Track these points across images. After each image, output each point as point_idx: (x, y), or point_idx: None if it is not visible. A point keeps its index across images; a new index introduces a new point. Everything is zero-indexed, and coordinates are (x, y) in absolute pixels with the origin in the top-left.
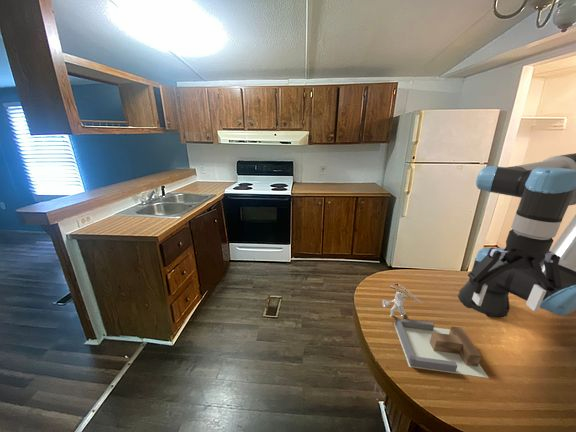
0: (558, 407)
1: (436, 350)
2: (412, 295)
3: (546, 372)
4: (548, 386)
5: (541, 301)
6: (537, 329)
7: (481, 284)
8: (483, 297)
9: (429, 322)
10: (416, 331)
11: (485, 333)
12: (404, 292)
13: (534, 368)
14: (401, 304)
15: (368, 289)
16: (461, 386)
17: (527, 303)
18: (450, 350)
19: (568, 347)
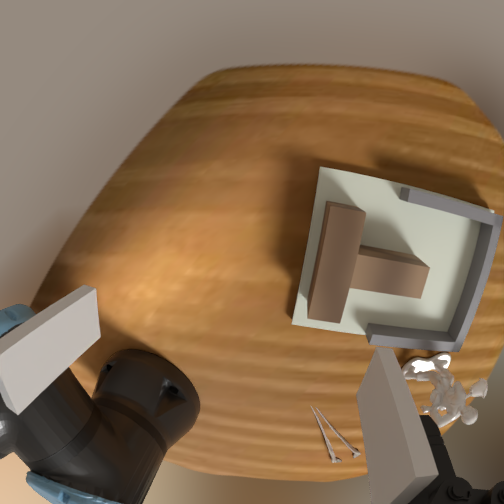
0: (195, 107)
1: (409, 254)
2: (323, 432)
3: (143, 194)
4: (170, 156)
5: (39, 314)
6: None
7: (456, 479)
8: (392, 391)
9: (380, 343)
10: (416, 318)
11: (206, 311)
12: (342, 439)
13: (162, 203)
14: (461, 387)
15: None
16: (400, 155)
17: (93, 336)
18: (377, 249)
19: (58, 260)
